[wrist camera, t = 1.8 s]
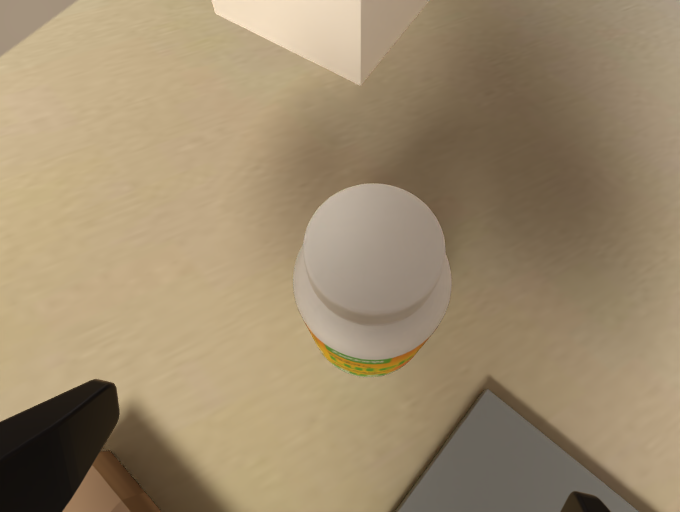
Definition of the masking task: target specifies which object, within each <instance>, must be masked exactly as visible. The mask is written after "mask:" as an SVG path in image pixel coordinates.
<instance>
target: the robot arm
mask: <svg viewBox="0 0 680 512" xmlns="http://www.w3.org/2000/svg"><path fill="white" fill-rule="evenodd" d="M118 419H119V404H118V396H117V389H116V386H115V385H114V383H112V382H108V381H103V380H99V379H94V380H91V381H89V382H86V383H84V384H82V385H80V386H78V387H75V388H73V389H71V390H69V391H67V392H64V393H62V394H60V395H58V396H56V397H54V398H51V399H49V400H47V401H45V402H43V403H40V404H38V405H36V406H34V407H32V408H30V409H27V410H25V411H23V412H21V413H19V414H16V415H14V416H12V417H10V418H8V419H5V420H3V421H1V422H0V512H62V511H63V510H64V509H65V507H66V506H67V504H68V503H69V501H70V500H71V499H72V497H73V496H74V494H75V492H76V491H77V489H78V488H79V486H80V485H81V483H82V481H83V480H84V478H85V476H86V474H87V473H88V471H89V469H90V468H91V466H92V464H93V463H94V461H95V459H96V458H97V456H98V454H99V453H100V451H101V449H102V448H103V446H104V444H105V443H106V441H107V439H108V438H109V436H110V434H111V433H112V431H113V429H114V427H115V426H116V424H117V422H118ZM560 512H611V511H610V510H609V509H608V507H607V506H606V505H605V504H604V503H603V502H602V501H601V500H600V499H599V498H598V497H597V496H595V495H591V494H587V493H583V492H578V491H573V492H571V493H570V494H569V496H568V498H567V500H566V502H565V504H564V506H563V508H562V509H561V511H560Z"/></svg>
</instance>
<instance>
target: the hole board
mask: <svg viewBox="0 0 680 512" xmlns="http://www.w3.org/2000/svg"><path fill="white" fill-rule="evenodd" d="M62 512H161V511H160V509H159V508H158V507H157V506H156V505H155V503H154V502H153V501H152V500H151V499H150V498H149V496H148V495H147V494H146V493H145V492H144V490H143V489H142V488H141V487H140V486H139V485H138V483H137V482H136V481H135V480H134V479H133V477H132V476H131V475H130V474H129V473H128V472H127V470H126V469H125V468H124V467H123V466H122V465H121V463H120V462H119V461H118V460H117V459H116V457H115V456H114V455H113V454H112V453H111V452H110V451H101V452H100V453H99V454H98V456H97V458H96V459H95V461H94V463H93V464H92V466H91V468H90V469H89V471H88V473H87V474H86V476H85V478H84V480H83V481H82V483H81V485H80V486H79V488H78V489H77V491H76V492H75V494H74V496H73V497H72V499H71V500H70V501H69V503H68V504H67V506H66V507H65V509H64V510H63V511H62Z"/></svg>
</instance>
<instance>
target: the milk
mask: <svg viewBox="0 0 680 512" xmlns="http://www.w3.org/2000/svg"><path fill="white" fill-rule="evenodd" d="M428 2H429V0H212V4H213V7H214V11H215V14H217V15H219V16H221V17H223V18H225V19H227V20H229V21H231V22H233V23H235V24H237V25H239V26H241V27H243V28H245V29H247V30H249V31H251V32H253V33H255V34H257V35H259V36H261V37H263V38H265V39H267V40H269V41H271V42H273V43H275V44H277V45H279V46H281V47H284V48H286V49H288V50H290V51H292V52H294V53H296V54H298V55H300V56H302V57H304V58H306V59H308V60H310V61H312V62H314V63H316V64H318V65H320V66H322V67H324V68H326V69H328V70H330V71H332V72H334V73H336V74H338V75H340V76H342V77H344V78H346V79H348V80H350V81H352V82H354V83H356V84H358V85H360V86H361V85H362V83H363V82H364V81H365V80H366V78H367V77H368V76H369V75H370V74H371V72H372V71H373V70H374V69H375V67H376V66H377V65H378V64H379V62H380V61H381V60H382V59H383V57H384V56H385V55H386V54H387V52H388V51H389V50H390V49H391V48H392V46H393V45H394V44H395V43H396V41H397V40H398V39H399V38H400V36H401V35H402V34H403V33H404V31H405V30H406V29H407V28H408V26H409V25H410V24H411V23H412V22H413V20H414V19H415V18H416V17H417V15H418V14H419V13H420V12H421V10H422V9H423V8H424V7H425V5H426V4H427V3H428Z"/></svg>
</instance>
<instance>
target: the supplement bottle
mask: <svg viewBox="0 0 680 512" xmlns="http://www.w3.org/2000/svg"><path fill="white" fill-rule="evenodd" d="M451 288H452V279H451V270H450V265H449V261H448V258H447V256H446V250H445V239H444V235H443V231H442V228H441V226H440V224H439V222H438V220H437V218H436V216H435V215H434V214H433V212H432V211H431V210H430V208H429V207H428V206H427V205H426V204H425V203H424V202H422V201H421V200H420V199H419V198H418V197H416V196H415V195H413V194H411V193H410V192H408V191H406V190H404V189H401V188H398V187H395V186H392V185H387V184H380V183H368V184H360V185H355V186H352V187H348V188H346V189H343V190H341V191H339V192H337V193H336V194H334V195H332V196H331V197H329V198H328V199H327V200H326V201H325V202H323V203H322V204H321V205H320V207H319V208H318V209H317V210H316V211H315V213H314V214H313V216H312V218H311V219H310V221H309V223H308V226H307V229H306V232H305V235H304V242H303V245H302V247H301V248H300V251H299V253H298V255H297V258H296V262H295V266H294V273H293V289H294V296H295V300H296V304H297V306H298V310H299V312H300V314H301V317H302V318H303V320H304V322H305V324H306V326H307V327H308V329H309V331H310V333H311V335H312V337H313V339H314V341H315V343H316V345H317V346H318V348H319V350H320V351H321V352H322V354H323V355H324V356H325V357H326V359H327V360H328V361H329V362H331V363H332V364H333V365H334V366H335V367H337V368H338V369H340V370H342V371H344V372H346V373H348V374H351V375H355V376H359V377H379V376H384V375H387V374H390V373H392V372H394V371H396V370H398V369H400V368H401V367H403V366H404V365H405V364H406V363H408V362H409V361H410V360H411V359H412V358H413V357H414V355H415V354H416V353H417V352H418V351H419V349H420V348H421V347H422V346H423V345H424V343H425V342H426V341H427V340H428V338H429V337H430V336H431V335H432V334H433V332H434V331H435V330H436V328H437V327H438V325H439V324H440V322H441V320H442V319H443V317H444V315H445V312H446V310H447V307H448V304H449V301H450V295H451Z"/></svg>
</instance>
